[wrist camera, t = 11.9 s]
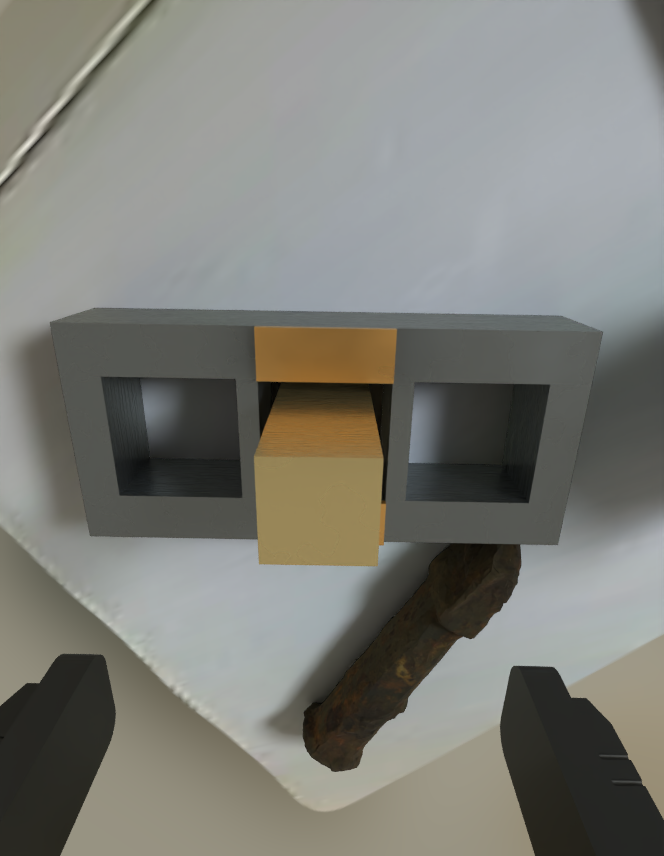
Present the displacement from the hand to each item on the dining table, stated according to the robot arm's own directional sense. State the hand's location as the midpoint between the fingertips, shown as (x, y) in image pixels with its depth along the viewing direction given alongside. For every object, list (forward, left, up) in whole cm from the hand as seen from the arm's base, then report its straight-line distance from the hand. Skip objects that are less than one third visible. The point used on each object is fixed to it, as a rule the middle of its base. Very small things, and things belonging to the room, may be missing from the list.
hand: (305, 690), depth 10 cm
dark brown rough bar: (+13, +5, -17) cm, 22 cm away
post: (0, 0, -17) cm, 17 cm away
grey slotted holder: (0, 0, -17) cm, 17 cm away
